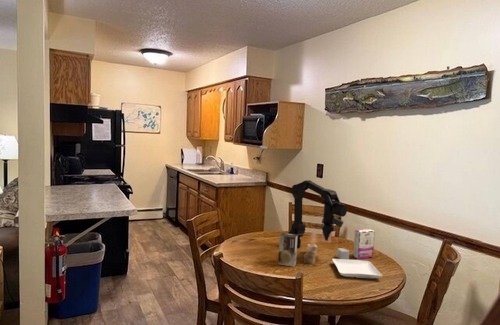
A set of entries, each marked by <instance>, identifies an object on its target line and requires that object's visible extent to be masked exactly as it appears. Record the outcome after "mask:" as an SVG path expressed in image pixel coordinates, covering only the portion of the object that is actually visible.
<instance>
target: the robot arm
mask: <svg viewBox="0 0 500 325" xmlns="http://www.w3.org/2000/svg"><path fill="white" fill-rule="evenodd" d="M308 189H309V190H311V191H312V192H314V193H316V194H318V195H319V196H320V198H321V199H323V201H321V204H323V205H324V206H323V212H322V215H323V216H322V219H321V230H322V232H323V234H324V237H325V240H326V241H327V240H328V237H329V234H330V232H331V233H332V232H334V231H335V228H334V225H335V226H337V227H339V228H342V227H343V225H344V223H345V222H344V220H342V217H343V218H344V217H345V216H346V215H347V213H348V209H347V207H346V204H344V203H341V201H340V199H339V197H338V193H337V191H336V190H333V189H328V188H325V187H323V186H321V185H319V184H318V183H315V182H313V181H312V180H311V179H309V180H307V179H305V180H304V181H302V182H299V183H296V184H293V185H292V186H291V194H292V197H293V198H294V203H293V206H294V207H293V208H294V209H293V210H294V212H293V222H292V224H291V227H290V228H291V229H290V231H288V232H287V233H289V234H296V235H298V240H297V249H300V247H302V246H301V244H302V239H301V238H303V236H304V234H306V233H305V232H306V224H304V222H303V200H304V199H303V198H304V197H305V195H306V191H307V190H308ZM335 215H336V216H337V217H336V216H335Z"/></svg>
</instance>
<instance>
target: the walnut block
mask: <svg viewBox="0 0 500 325" xmlns="http://www.w3.org/2000/svg"><path fill="white" fill-rule="evenodd" d="M316 256H317V255H316V253H312V252H307V251H306V252H305V253H304V255H303V257H304V258H303V263H304V264H308V265H314V264H315V263H316Z"/></svg>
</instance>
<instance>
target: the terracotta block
mask: <svg viewBox="0 0 500 325" xmlns="http://www.w3.org/2000/svg"><path fill="white" fill-rule="evenodd" d="M321 235H322V236H321V242H322V243H332V235H333V234H332V232H330V234H329V237H328V240H327V241H326V240H325V237H324V234H323V231H322V233H321Z"/></svg>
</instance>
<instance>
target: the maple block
mask: <svg viewBox="0 0 500 325" xmlns="http://www.w3.org/2000/svg"><path fill="white" fill-rule="evenodd" d="M306 247H307V248H306V252H312V253H316V256H318V246H317V244H312V243H311V244H309V243H307V246H306Z"/></svg>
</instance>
